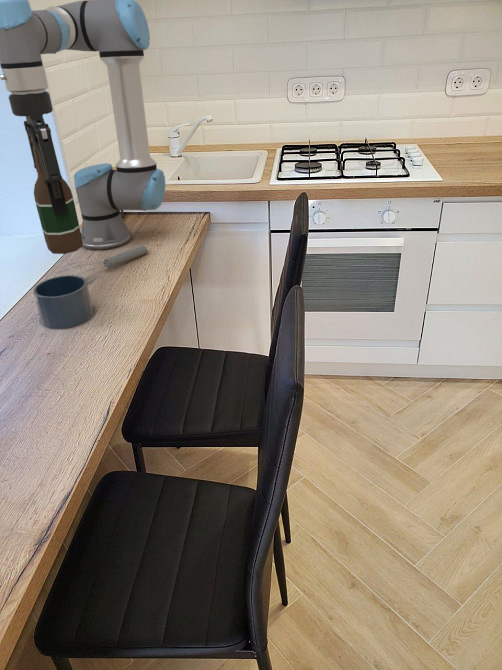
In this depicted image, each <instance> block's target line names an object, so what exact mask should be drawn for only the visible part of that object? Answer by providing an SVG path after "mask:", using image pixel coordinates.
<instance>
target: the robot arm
mask: <svg viewBox="0 0 502 670" xmlns="http://www.w3.org/2000/svg"><path fill="white" fill-rule="evenodd" d="M150 36H151V35H150V28H149V23H148V20H147V17H146V15H145V12H144V11H143V8H142V7H141V5H140V3H139V2H138V1H136V0H76V1H73V2H68V3H65V4H61V5H56V6H55V5H53V6H48V7H46V8H44V9H39V10H33V9H32V8H31V5H30V1H28V0H0V69H1V72H2V73H3V74H0V80H1V81H4V84H5V88H6V91H8V92H9V93H10V94H9V95H8V101H9V104H10V109H11V113H12V114H13V115H14V116H15V117H25V120H24V121H23V126H24V130H25V132H26V136H27V139H28V145H29V149H30V153H31V156H32V161H33V167H34V169H35V171H36V172H37V165H36V160H35V154H34V149H33V145H34V148H35V149H37V150H38V153H39V156H40V159H41V162H42V166H43V169H44V172H45V176H46V180H44V181H43V182H44V184H47V188H48V192H49V196H50V201H51V205H52V209H53V213H54V215H56V214H61V213H67V207H66V203H65V199H64V194H63V190H62V186H61V180H62V178H63V176H62V173H61V170H60V165H59V161H58V157H57V154H56V150H55V146H54V141H53V137H52V133H51V132H52V130H51V128H50V126H49V123H46V122H45V119H44V115H47V114H51V113H52V112H53V110H54V107H53V103H52V100H51V95H50V93H49V92H48V91H47V89H48V88H49V85H48V80H47V75H46V71H45V67H44V65H43V64H44V63H43V60H42V55H47V54H48V55H50V54H52V55H55V54H57V53H59V52H62V51H66V50H68V51H78V52H98V55H99V59H100V61H101V62H103V63H104V64H105V66H106V68H107V76H108V83H109V90H110V98H111V103H112V111H113V118H114V123H115V130H116V131H115V133H116V139H117V147H118V152H119V160H118V162H116V164H115V169H114V166H113V165H112V164H111V163H98V164H93V165H89V166H87V167H83V168H81V169H78V170H76V172H75V173H74V174H73V182H74V189H75V193H76V196H77V202H78V206H79V210H80V215H81V219H82V222H81V223H82V224H81V229H80V231H81V236H82V242H83V246H82V247H83V248H85V249H88V250H93V251H94V250H95V251H96V250H97V251H101V250H110V249H114V248H118V247H122V246H124V245H127V243H129V242H130V240H131V233H130V230H129V228H128V227H127V224H126V223H125V221H124V218H125V213H124V211H142V212H143V211H144V212H146V211H154V210H155V211H156V210H158V209H159V208H160V207H161V206H162V203H163V201H164V197H165V194H166V176H165V172H164V171H163V170H162V169H160V168H157V161H155V160H154V158H152V157H151V153H150V143H149V136H148V135H149V134H148V127H147V118H146V111H145V101H144V100H145V99H144V93H143V85H142V77H141V75H142V74H141V67H140V64H141V62H142V61H143V60H144V59H145V54H144V52H145V51H146V50H148V49H149V47H150V43H151V41H150V39H151V37H150ZM30 137H31V138H32V142H33V144H32V143H31V142H30ZM52 174H56V175H52ZM120 210H121V211H120Z"/></svg>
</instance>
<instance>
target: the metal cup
mask: <svg viewBox="0 0 502 670" xmlns="http://www.w3.org/2000/svg"><path fill="white" fill-rule="evenodd" d="M74 275H75V274H68V275H58V276H54V278H53V277H50V278H47V279H45V280H42V281H41V282H39V283H38V284H37V285H36V284H35V286H34V288H33V291H32V292H33V296H34V300H35V303H36V306H37V311H38V315H39V317H40V320H41V323H42V324H43V326H45V327H46V328H49V329H55V330H62V329H63V330H64V329H69V328H74V327H78V326H80V325H82V324H84V323H86V322H87V321H89V320H90V319H91V318H92V316H93V315H94V307H93V304H92V299H91V294H90V289H89V286H88V285H89V284H88V283H87V282H88V281H87V279H86V278H85V277H83V276H80V275H78V276H74Z"/></svg>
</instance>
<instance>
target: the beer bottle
mask: <svg viewBox="0 0 502 670" xmlns="http://www.w3.org/2000/svg"><path fill="white" fill-rule="evenodd" d="M30 142H31V143H32V144H33V142H32V138H31V137H30ZM33 149H34V154H35V160H36V165H37V171H36V173H37V178H36V181H35V183H34V185H33V196H34V202H35V206H36V210H37V214H38V217H39V221H40V225H41V229H42V233H43V238H44V241H45V244H46V247H47V249H48V250H49V252H51V253H52V254H53V255H58V254H59V255H66V254H70V253H75V252H77V251H79V250H80V249H81V248H82V247H83V242H82V236H81V228H80V221H79V218H78V213H77V209H76V205H75V200H74V195H73V193H72V189H71V187H70V186H69V184H68V183H67V181H66V180H65V179H64V178H63V177H62V180H61V186H62V190H63V194H64V199H65V203H66V207H67V213H61V214H56V215H54V213H53V209H52V205H51V201H50V196H49V192H48V188H47V184H44V182H43V181H44V180H46V176H45V172H44V169H43V166H42V162H41V159H40V156H39V153H38V150H37V149H35V148H34V145H33ZM52 175H56V174H52Z"/></svg>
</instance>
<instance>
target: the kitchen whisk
mask: <svg viewBox="0 0 502 670" xmlns="http://www.w3.org/2000/svg"><path fill="white" fill-rule="evenodd" d="M147 246H148V247H147ZM150 248H151V246H150V245H149V244H145V245H140V246H137V247H133V248H132V249H128V250H126V251H123V252H121V253H120V252H119V253H118V254H115V255H112V256H110V257H107V258H105V259H103V260H100V263H101V265H97V266H96V267H93V268H90V269H87V270H85V271H83V272H80V273H77V274H73V275H74V276H80V275H83V274H85V273H89V272H90V271H93V270H96V269H98V268H100V269H99V270H96V272H94V273H93V274H91V275H89V276H88V277H86V278H85V279H86V281H87V284H88V283H90V282H92V280H94V279H95V278H96V277H97V276H99V275H100V274H101V273H102V271H105V270H106V269H110V268H113V267H115V266H118V265H121V264H123V263H126V262H129V261H131V260H134V259H136V258H139V257H141V256H144V255H146V254H147V253H148V251H149V250H150ZM80 263H82V261H79V262H78V261H77V262H72V263H69V264H66V265H64V266H62V267H60V268H59V269H57V271H56V272H55V274H54V275H53V277H52V278H54V277H57V275H58V274H59V273H60V274H59V276H62V274H64V273H66V272H67V271H69V270H70V269H74V268H78V267H80V266H81V267H84V266H85V265H86V266H90V265H91V263H92V264H93V265H96V264H99V262H98V261H96V260H87V261H85V263H82V264H80ZM75 264H78V265H75ZM70 265H75V266H72V267H69V268H66V269H65V268H64V267H67V266H70ZM101 267H102V268H101ZM63 268H64V269H63ZM61 269H63V270H61ZM61 272H62V273H61Z"/></svg>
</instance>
